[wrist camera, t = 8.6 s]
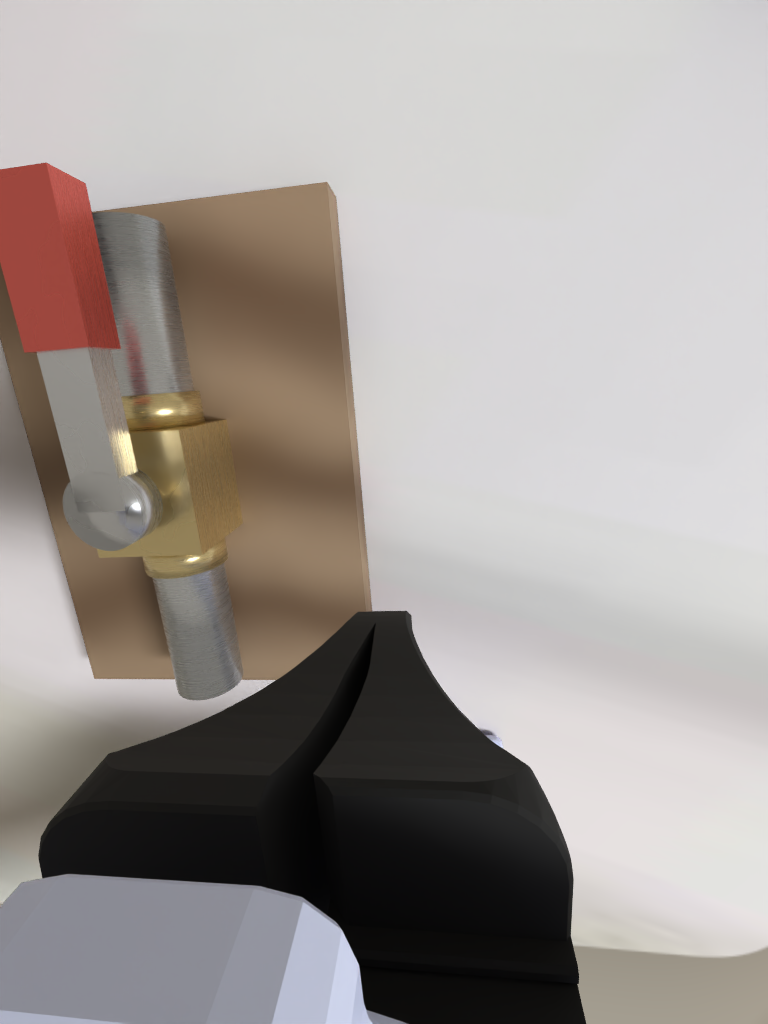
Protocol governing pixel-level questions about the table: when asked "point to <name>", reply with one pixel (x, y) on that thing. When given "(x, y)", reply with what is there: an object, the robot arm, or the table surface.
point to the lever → (74, 350)
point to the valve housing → (173, 458)
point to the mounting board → (239, 434)
